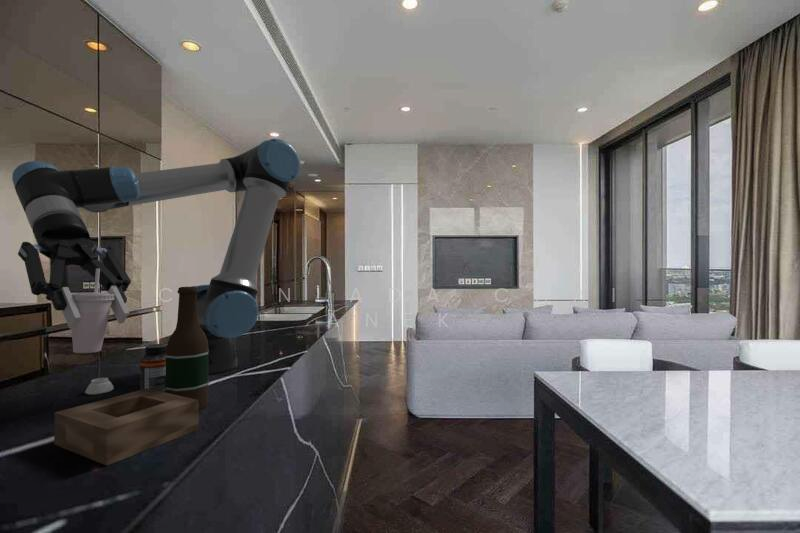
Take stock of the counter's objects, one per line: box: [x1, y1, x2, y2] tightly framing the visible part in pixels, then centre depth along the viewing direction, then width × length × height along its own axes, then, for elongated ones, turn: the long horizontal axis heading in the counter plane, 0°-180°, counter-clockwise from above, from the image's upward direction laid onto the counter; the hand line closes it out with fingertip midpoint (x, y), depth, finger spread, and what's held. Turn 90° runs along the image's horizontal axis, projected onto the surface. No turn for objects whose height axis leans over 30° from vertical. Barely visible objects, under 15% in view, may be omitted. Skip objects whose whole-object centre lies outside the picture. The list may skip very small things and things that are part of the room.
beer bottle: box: [166, 286, 209, 411], centre depth 78 cm, size 8×8×24 cm
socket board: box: [53, 389, 200, 466], centre depth 64 cm, size 14×15×5 cm
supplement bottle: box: [139, 343, 168, 393], centre depth 84 cm, size 6×6×11 cm
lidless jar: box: [84, 377, 114, 396], centre depth 89 cm, size 5×3×5 cm
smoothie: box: [71, 268, 114, 354], centre depth 66 cm, size 6×6×14 cm
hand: (100, 320), depth 65 cm, fingers closed on smoothie, 6 cm apart
